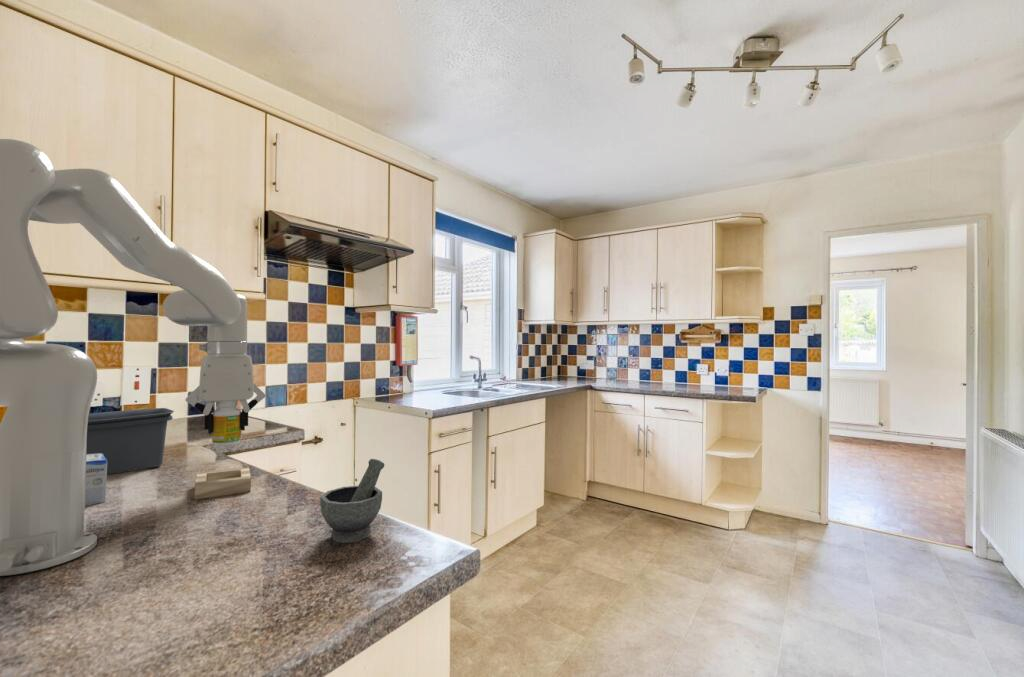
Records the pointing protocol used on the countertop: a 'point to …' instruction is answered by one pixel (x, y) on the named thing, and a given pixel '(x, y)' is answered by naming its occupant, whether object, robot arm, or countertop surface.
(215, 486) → the holder block
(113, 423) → the storage bin
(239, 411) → the supplement bottle
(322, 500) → the mortar and pestle
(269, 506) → the countertop surface
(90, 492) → the medicine box
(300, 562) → the countertop surface
